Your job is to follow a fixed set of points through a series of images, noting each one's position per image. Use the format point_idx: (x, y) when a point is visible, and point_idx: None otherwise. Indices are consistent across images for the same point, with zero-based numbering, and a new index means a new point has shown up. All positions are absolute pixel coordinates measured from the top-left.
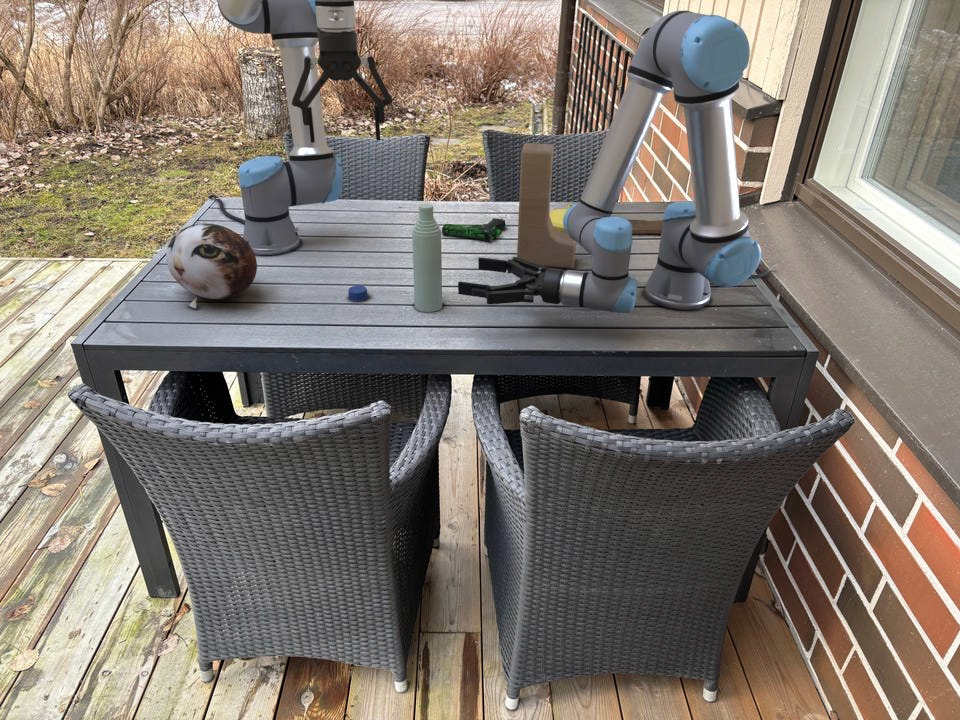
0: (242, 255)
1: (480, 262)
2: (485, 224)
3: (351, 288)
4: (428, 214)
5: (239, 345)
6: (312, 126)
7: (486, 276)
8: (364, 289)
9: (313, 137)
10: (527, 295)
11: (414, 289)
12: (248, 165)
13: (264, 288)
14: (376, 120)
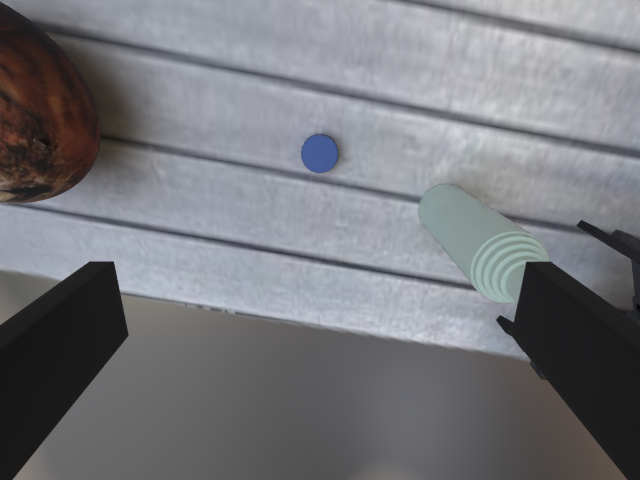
0: (51, 172)
1: (590, 233)
2: None
3: (307, 149)
4: None
5: (135, 290)
6: (66, 409)
7: (601, 88)
8: (333, 158)
9: (109, 353)
10: None
11: (427, 222)
12: None
13: (125, 72)
14: (598, 433)
